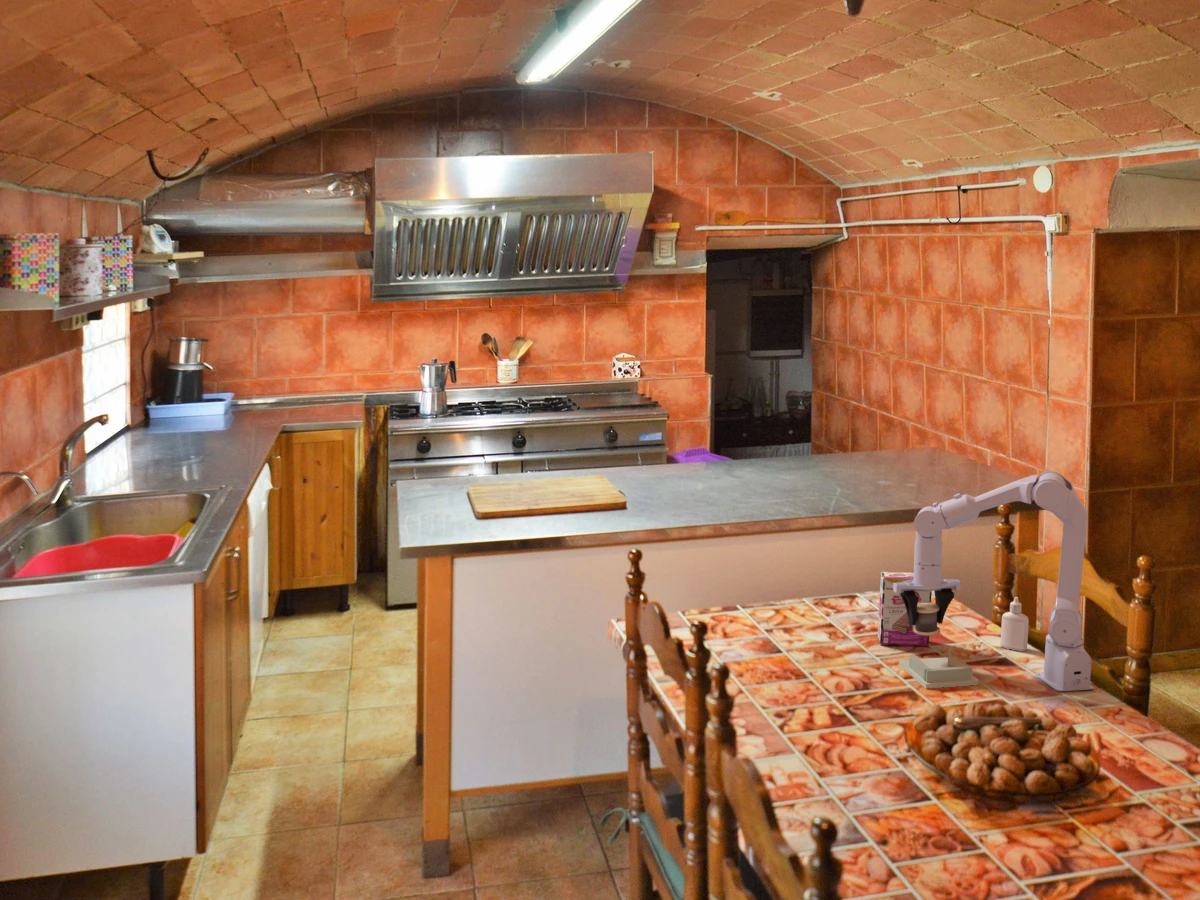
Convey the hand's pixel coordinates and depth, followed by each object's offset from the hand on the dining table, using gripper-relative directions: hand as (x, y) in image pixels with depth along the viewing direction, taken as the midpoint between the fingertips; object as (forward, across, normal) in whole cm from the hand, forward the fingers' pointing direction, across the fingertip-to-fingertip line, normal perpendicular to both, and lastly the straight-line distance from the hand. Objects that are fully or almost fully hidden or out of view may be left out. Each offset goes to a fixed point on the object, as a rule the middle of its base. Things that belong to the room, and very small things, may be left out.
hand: (925, 622), depth 246 cm
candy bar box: (+10, -1, -14) cm, 17 cm away
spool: (+2, 0, 0) cm, 2 cm away
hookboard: (+9, 0, +7) cm, 11 cm away
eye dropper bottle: (+10, -24, -6) cm, 27 cm away
